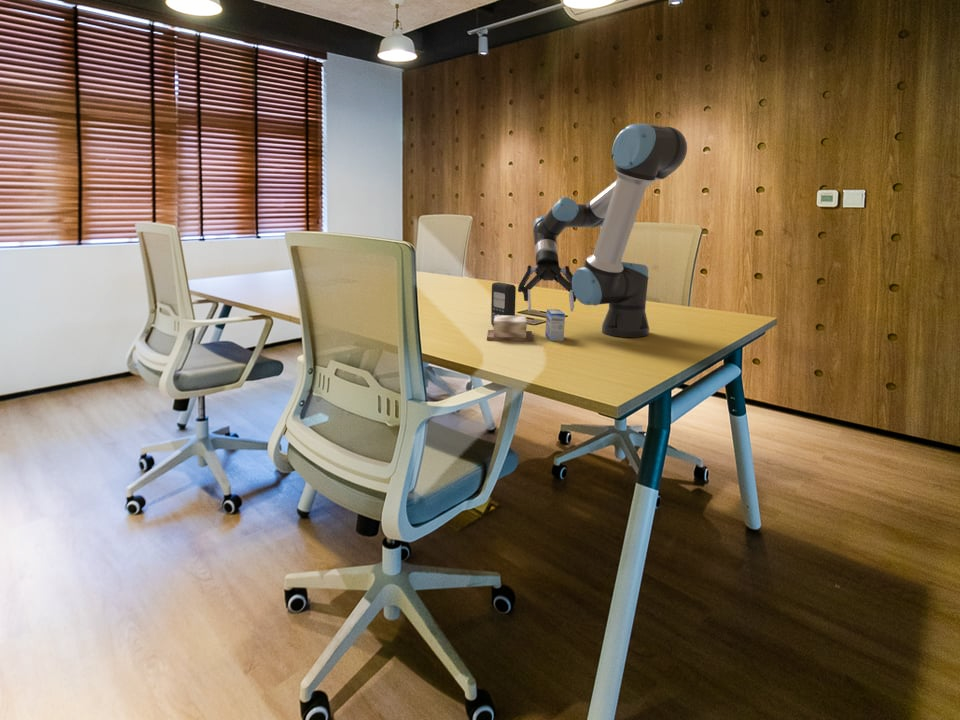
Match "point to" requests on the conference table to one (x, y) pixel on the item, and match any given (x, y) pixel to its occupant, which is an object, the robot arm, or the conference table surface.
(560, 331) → the medicine box
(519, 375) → the conference table surface
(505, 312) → the card reader
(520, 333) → the build base
